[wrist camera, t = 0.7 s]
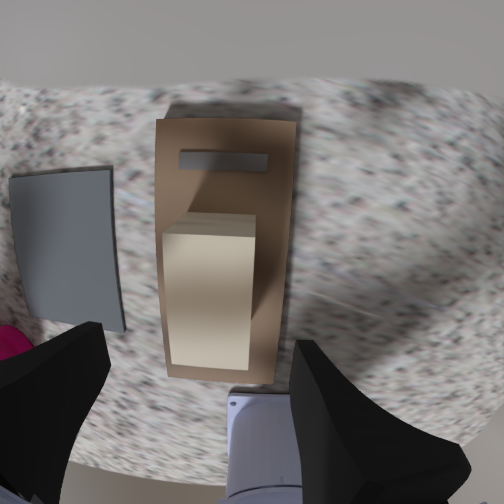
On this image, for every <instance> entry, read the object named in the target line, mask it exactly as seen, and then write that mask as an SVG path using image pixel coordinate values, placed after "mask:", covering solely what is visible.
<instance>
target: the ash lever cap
mask: <svg viewBox="0 0 504 504" xmlns="http://www.w3.org/2000/svg"><path fill="white" fill-rule="evenodd" d="M255 228H256V215H248V214H226V213H200V212H187V213H185V214H184V215H183V216H182V217H181V218H179V219H178V220H177V221H176V222H175V223H174V224H172V225H171V226H170V227H169V228H168V229H167V230H165V231H164V232H163V233H162V244H163V267H164V284H165V299H166V311H167V323H168V333H169V343H170V352H171V361H172V364H177V365H186V366H196V367H207V368H220V369H234V370H248V363H249V345H250V327H251V308H252V290H253V271H254V253H255Z"/></svg>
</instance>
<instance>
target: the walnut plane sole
mask: <svg viewBox="0 0 504 504" xmlns="http://www.w3.org/2000/svg"><path fill="white" fill-rule="evenodd" d="M295 141H296V122H294V121H281V120H266V119H245V118H172V119H156V140H155V234H156V257H157V274H158V289H159V301H160V312H161V323H162V332H163V341H164V350H165V358H166V365H167V372H168V377H176V378H185V379H194V380H204V381H216V382H229V383H247V384H274V377H275V369H276V361H277V352H278V343H279V334H280V325H281V316H282V306H283V296H284V286H285V275H286V265H287V253H288V242H289V230H290V217H291V204H292V190H293V175H294V159H295ZM187 212H200V213H226V214H248V215H256V228H255V253H254V271H253V290H252V308H251V327H250V345H249V363H248V370H234V369H220V368H207V367H196V366H186V365H177V364H172V361H171V352H170V343H169V333H168V323H167V311H166V299H165V284H164V267H163V244H162V233H163V232H164V231H165V230H167V229H168V228H169V227H170V226H171V225H172V224H174V223H175V222H176V221H177V220H178V219H179V218H181V217H182V216H183V215H184V214H185V213H187Z"/></svg>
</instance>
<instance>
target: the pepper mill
mask: <svg viewBox="0 0 504 504" xmlns="http://www.w3.org/2000/svg"><path fill="white" fill-rule="evenodd" d="M32 348H34V347H33V346H32V344H31V343H30V341H29V340H28V339H27V338H26V337H25V336H24V334H22V333H21V332H20V331H19V330H18V329H16V328H14V327H12V326H9V325H3V326H1V327H0V360H4V359H7V358H9V357H12V356H15V355H18V354H20V353H23V352H25V351H27V350H30V349H32Z"/></svg>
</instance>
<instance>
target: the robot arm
mask: <svg viewBox="0 0 504 504" xmlns="http://www.w3.org/2000/svg"><path fill="white" fill-rule="evenodd" d="M110 367H111V362H110V358H109V354H108V349H107V345H106V340H105V336H104V331H103V326H102V323H99V322H92V321H87V322H85V323H82V324H80V325H78V326H76V327H74V328H72V329H70V330H68V331H66V332H64V333H62V334H60V335H58V336H56V337H54V338H52V339H50V340H49V341H47V342H44V343H42V344H40V345H38V346H36V347H34V348H32V349H30V350H27V351H25V352H23V353H20V354H18V355H15V356H12V357H9V358H7V359H4V360H0V504H59V500H60V493H61V488H62V483H63V479H64V474H65V470H66V467H67V463H68V460H69V457H70V453H71V450H72V447H73V445H74V442H75V439H76V437H77V434H78V432H79V430H80V428H81V426H82V424H83V422H84V420H85V418H86V416H87V415H88V413H89V411H90V409H91V407H92V406H93V404H94V402H95V400H96V398H97V397H98V395H99V393H100V391H101V389H102V387H103V386H104V383H105V381H106V378H107V376H108V373H109V370H110ZM289 390H290V395H282V394H248V393H230V394H228V397H227V444H228V456H229V464H228V475H227V488H226V499H218V500H217V504H449V503H448V501H447V500H448V499H449V498H450V497H451V496H452V495H453V494H454V493H455V492H456V491H457V490H458V489H459V488H460V487H461V486H462V485H463V484H464V482H465V481H466V480H467V479H468V477H469V475H470V473H471V465H470V463H469V461H468V459H467V458H466V456H465V454H464V452H463V450H462V448H461V447H460V445H459V444H457V443H454V442H451V441H448V440H445V439H442V438H439V437H436V436H433V435H431V434H428V433H426V432H424V431H422V430H420V429H417V428H415V427H413V426H411V425H409V424H407V423H405V422H404V421H402V420H400V419H398V418H397V417H395V416H394V415H392V414H390V413H389V412H387V411H386V410H384V409H383V408H381V407H380V406H378V405H377V404H376V403H374V402H373V401H372V400H370V399H369V398H368V397H366V396H365V395H364V394H363V393H362V392H361V391H359V390H358V389H357V388H356V387H355V386H354V385H353V384H352V383H351V382H350V381H349V380H348V379H347V378H346V377H345V376H344V375H343V374H342V373H341V372H340V371H339V370H338V369H337V368H336V367H335V365H334V364H333V363H332V362H331V361H330V360H329V359H328V357H327V356H326V355H325V354H324V353H323V351H322V350H321V349H320V348H319V347H318V345H317V344H316V343H315V342H314V341H313V340H296V342H295V349H294V355H293V362H292V368H291V374H290V381H289ZM233 402H235V403H233ZM481 504H487V502H482V503H481Z"/></svg>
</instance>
